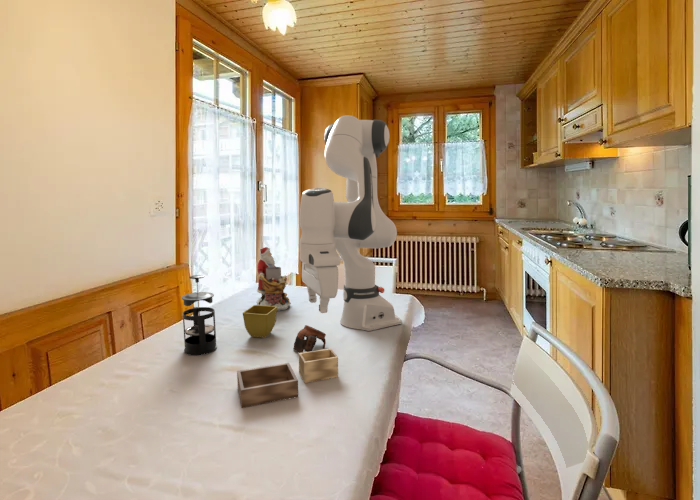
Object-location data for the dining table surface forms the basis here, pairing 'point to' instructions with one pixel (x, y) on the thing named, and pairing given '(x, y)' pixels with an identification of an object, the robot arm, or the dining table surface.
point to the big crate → (266, 384)
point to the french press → (199, 323)
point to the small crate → (318, 365)
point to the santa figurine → (271, 282)
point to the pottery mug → (308, 339)
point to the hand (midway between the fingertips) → (317, 306)
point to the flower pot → (260, 320)
